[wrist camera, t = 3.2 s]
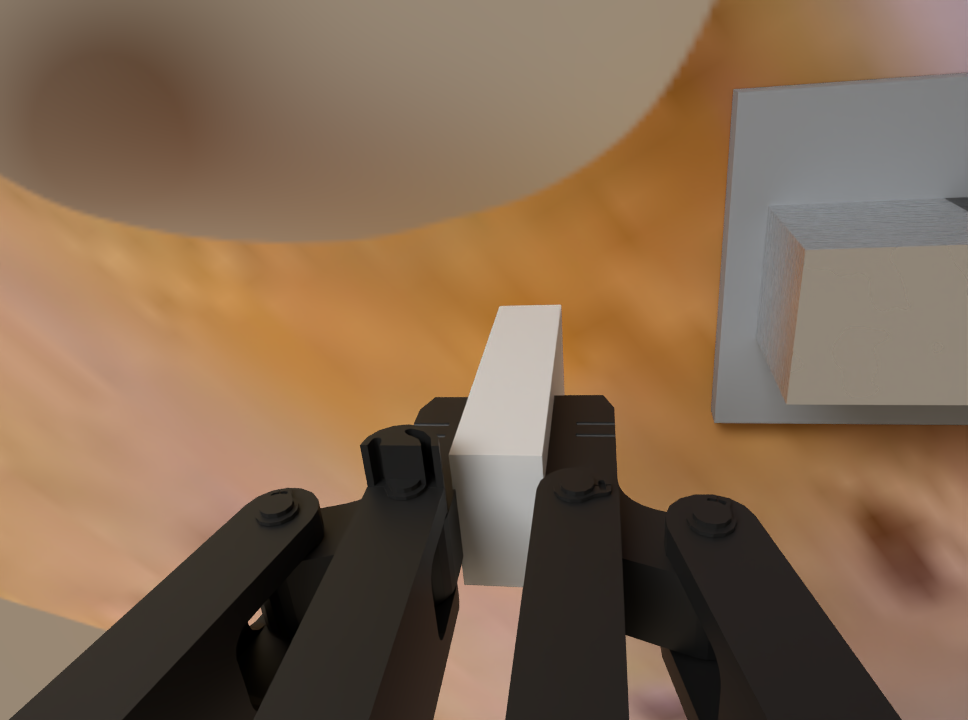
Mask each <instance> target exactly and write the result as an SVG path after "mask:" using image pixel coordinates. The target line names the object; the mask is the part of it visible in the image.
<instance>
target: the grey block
mask: <svg viewBox="0 0 968 720" xmlns="http://www.w3.org/2000/svg"><path fill="white" fill-rule="evenodd" d="M755 338H756V340H757V342H758V345H759V347H760V349H761V351H762V353H763V355H764V358H765V360H766V362H767V364H768V366H769V368H770V370H771V373H772V375H773V377H774V379H775V381H776V383H777V385H778V388H779V390H780V392H781V394H782V396H783V398H784V401H785V403H786V404H790V405H968V197H958V198H935V199H912V200H889V201H866V202H842V203H819V204H796V205H773V206H768V212H767V222H766V233H765V243H764V253H763V264H762V274H761V284H760V295H759V305H758V315H757V326H756V336H755Z"/></svg>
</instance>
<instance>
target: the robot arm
mask: <svg viewBox="0 0 968 720" xmlns="http://www.w3.org/2000/svg"><path fill="white" fill-rule="evenodd" d="M360 448H361V453H362V458H363V464H364V469H365V475H366V480H367V485H368V487H367V489H366V491H365V493H364V495H363V497H362V499H360V500H358V501H354V502H350V503H347V504H342V505H336V506H331V507H326V508H320V505H319V501H318V499H317V498H316V496H315V495H314V494H313V493H312V492H309V491H307V490H304V489H300V488H285V489H280V490H279V489H278V490H274V491H271V492H268V493H266V494H263V495H261V496H258V497H257V498H255V499H254V500H252V501H251V502H250V503H248V504H247V505H245V506H244V507H243V508H242V509H241V510H240V511H239V512H238V513H237V514H235V515H234V516H233V517H232V518H231V519H230V520H229V521H228V522H227V523H226V524H224V525H223V526H222V527H221V528H220V529H219V530H218V531H217V532H216V533H214V534H213V535H212V536H211V537H210V538H209V539H208V540H207V541H206V542H205V543H203V544H202V545H201V546H200V547H199V548H198V549H197V550H196V551H195V552H194V553H192V554H191V555H190V556H189V557H188V558H187V559H186V560H185V561H184V562H182V563H181V564H180V565H179V566H178V567H177V568H176V569H175V570H174V571H173V572H171V573H170V574H169V575H168V576H167V577H166V578H165V579H164V580H163V581H162V582H160V583H159V584H158V585H157V586H156V587H155V588H154V589H153V590H152V591H150V592H149V593H148V594H147V595H146V596H145V597H144V598H143V599H142V600H141V601H139V602H138V603H137V604H136V605H135V606H134V607H133V608H132V609H131V610H130V611H128V612H127V613H126V614H125V615H124V616H123V617H122V618H121V619H120V620H118V621H117V622H116V623H115V624H114V625H113V626H112V627H111V628H110V629H109V630H107V631H106V632H105V633H104V634H103V635H102V636H101V637H100V638H99V639H98V640H96V641H95V642H94V643H93V644H92V645H91V646H90V647H89V648H88V649H87V650H85V651H84V652H83V653H82V654H81V655H80V656H79V657H78V658H77V659H75V661H73V662H72V663H71V664H70V665H69V666H68V667H67V668H66V669H65V670H63V672H61V673H60V674H59V675H58V676H57V677H56V678H55V679H53V680H52V681H51V682H50V683H49V684H48V685H47V686H46V687H45V688H43V690H41V691H40V692H39V693H38V694H37V695H36V696H35V697H34V698H32V699H31V700H30V701H29V702H28V703H27V704H26V705H25V706H24V707H23V708H22V709H20V710H19V711H18V712H17V713H16V714H15V715H14V716H13V717H11V718H10V719H9V720H433V718H434V714H435V710H436V706H437V701H438V697H439V693H440V688H441V684H442V680H443V675H444V671H445V667H446V662H447V658H448V654H449V649H450V645H451V641H452V637H453V632H454V628H455V624H456V619H457V615H458V611H459V593H458V585H457V581H458V577H459V573H460V569H461V565H462V569H463V577H464V585H484V586H506V587H523V592H522V600H521V607H520V614H519V622H518V629H517V637H516V644H515V652H514V659H513V666H512V674H511V681H510V689H509V696H508V704H507V711H506V718H505V720H629V706H628V683H627V660H626V637H625V635H628V636H631V637H634V638H637V639H640V640H643V641H646V642H649V643H652V644H655V645H658V646H661V652H662V657H663V660H664V662H665V665H666V667H667V670H668V672H669V675H670V677H671V680H672V682H673V685H674V687H675V690H676V692H677V695H678V697H679V700H680V702H681V705H682V707H683V710H684V712H685V714H686V717H687V719H688V720H902V719H901V718H900V717H899V715H898V714H897V713H896V711H895V710H894V708H893V707H892V706H891V704H890V703H889V701H888V700H887V699H886V697H885V696H884V694H883V693H882V692H881V690H880V689H879V687H878V686H877V685H876V683H875V682H874V680H873V679H872V678H871V676H870V675H869V673H868V672H867V671H866V669H865V668H864V667H863V665H862V664H861V662H860V661H859V660H858V658H857V657H856V655H855V654H854V653H853V651H852V650H851V648H850V647H849V646H848V644H847V643H846V641H845V640H844V639H843V637H842V636H841V634H840V633H839V632H838V630H837V629H836V628H835V626H834V625H833V623H832V622H831V621H830V619H829V618H828V616H827V615H826V614H825V612H824V611H823V609H822V608H821V607H820V605H819V604H818V602H817V601H816V600H815V598H814V597H813V595H812V594H811V593H810V591H809V590H808V588H807V587H806V586H805V584H804V583H803V582H802V580H801V579H800V577H799V576H798V575H797V573H796V572H795V570H794V569H793V568H792V566H791V565H790V563H789V562H788V561H787V559H786V558H785V556H784V555H783V554H782V552H781V551H780V549H779V548H778V547H777V545H776V544H775V543H774V541H773V540H772V538H771V537H770V536H769V534H768V533H767V531H766V530H765V529H764V527H763V526H762V524H761V523H760V522H759V520H758V519H757V517H756V516H755V515H754V514H753V513H752V512H751V511H750V510H749V509H748V508H746V507H745V506H744V505H742V504H740V503H738V502H736V501H734V500H732V499H730V498H725V497H721V496H716V495H692V496H688V497H684V498H680V499H679V500H677V501H676V502H674V503H673V504H672V505H670V506H669V508H668V511H667V512H664V511H660V510H656V509H652V508H649V507H646V506H643V505H641V504H639V503H637V502H635V501H633V500H631V499H630V498H629V497H628V496H627V495H625V494H624V493H623V491H622V490H621V488H620V487H619V484H618V480H617V461H616V439H615V417H614V407H613V406H612V405H611V404H610V403H609V401H608V400H607V399H606V398H605V397H604V396H603V395H564V370H563V343H562V315H561V305H530V306H500V307H499V310H498V313H497V315H496V318H495V321H494V324H493V327H492V330H491V333H490V336H489V339H488V342H487V345H486V347H485V350H484V353H483V356H482V359H481V362H480V365H479V368H478V371H477V374H476V376H475V379H474V382H473V385H472V388H471V391H470V394H469V397H435V398H434V399H433V400H432V401H430V402H429V403H428V404H427V405H425V406H424V407H423V408H422V409H420V411H419V414H418V416H417V418H416V420H415V422H414V425H399V426H392V427H389V428H385V429H382V430H379V431H377V432H375V433H374V434H372V435H370V436H368V437H367V438H366V439H365V440H364V441H363V442H362V444H361V445H360ZM260 607H261V610H262V615H261V616H260V617H259V618H258V620H257V621H256V622H254V623H253V624H252V625H251V626H249V625H248V621H249V620H250V619H251V617H252V616H253V615H254V614H255V613H256V612H257V611H258V610H259V609H260Z"/></svg>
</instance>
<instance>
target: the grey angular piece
mask: <svg viewBox="0 0 968 720" xmlns="http://www.w3.org/2000/svg"><path fill="white" fill-rule="evenodd" d="M958 197H968V73H956V74H942V75H928V76H914V77H900V78H886V79H872V80H858V81H844V82H830V83H816V84H802V85H788V86H774V87H760V88H746V89H733V102H732V116H731V130H730V145H729V159H728V174H727V188H726V202H725V217H724V231H723V246H722V260H721V274H720V289H719V303H718V317H717V332H716V346H715V361H714V375H713V389H712V404H711V412H712V416H713V419H714V423H792V424H911V425H968V405H790V404H786V403H785V401H784V398H783V396H782V394H781V392H780V390H779V388H778V385H777V383H776V381H775V379H774V377H773V375H772V373H771V370H770V368H769V366H768V364H767V362H766V360H765V358H764V355H763V353H762V351H761V349H760V347H759V345H758V342H757V340H756V338H755V336H756V326H757V315H758V305H759V295H760V284H761V274H762V264H763V253H764V243H765V233H766V222H767V212H768V206H773V205H796V204H819V203H842V202H866V201H889V200H912V199H935V198H958Z"/></svg>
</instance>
